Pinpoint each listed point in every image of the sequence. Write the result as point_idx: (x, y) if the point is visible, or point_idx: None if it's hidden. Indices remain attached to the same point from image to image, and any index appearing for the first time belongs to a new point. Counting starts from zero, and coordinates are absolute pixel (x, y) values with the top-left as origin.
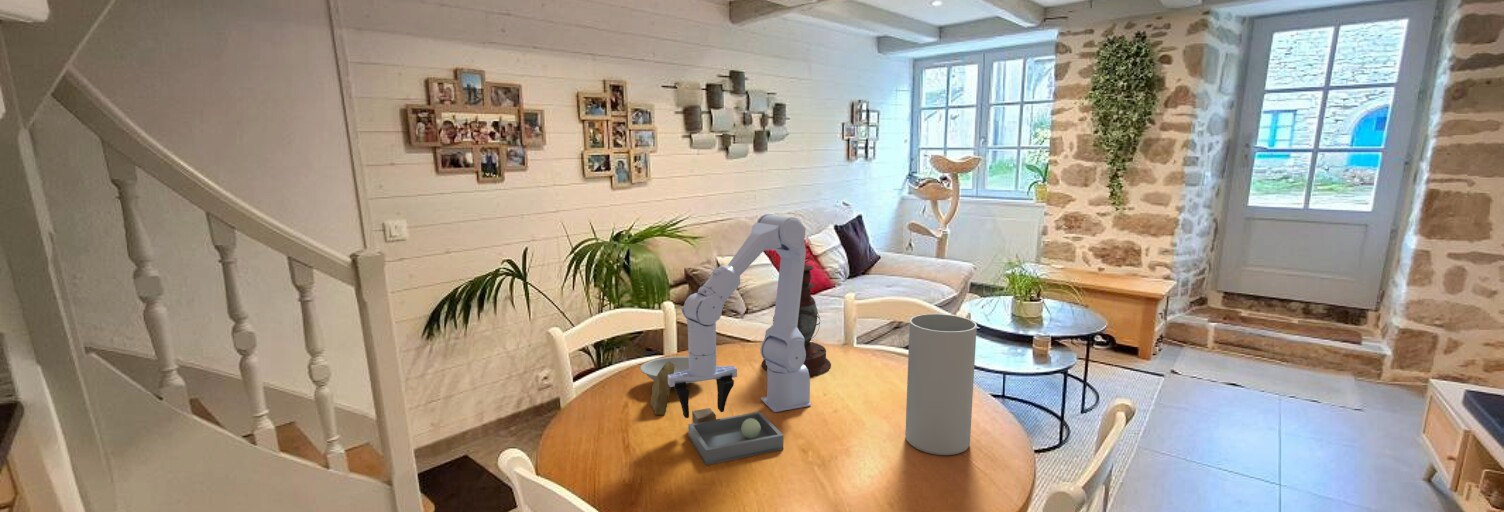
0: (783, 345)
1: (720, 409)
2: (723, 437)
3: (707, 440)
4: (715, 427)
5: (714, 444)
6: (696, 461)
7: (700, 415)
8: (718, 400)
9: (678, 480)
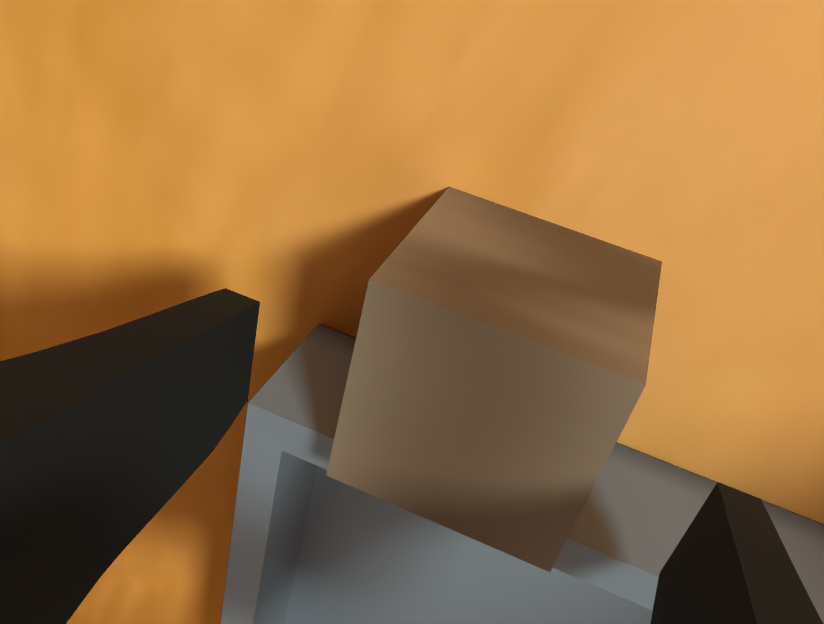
0: None
1: (664, 591)
2: (535, 572)
3: (396, 510)
4: None
5: (407, 581)
6: None
7: (394, 448)
8: (718, 607)
9: (91, 612)
